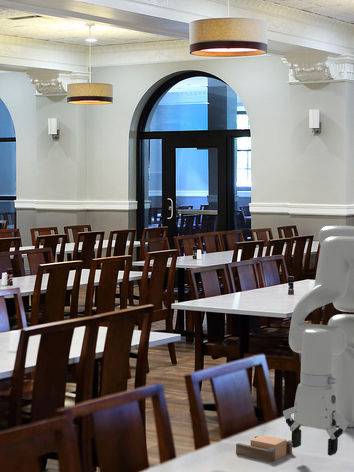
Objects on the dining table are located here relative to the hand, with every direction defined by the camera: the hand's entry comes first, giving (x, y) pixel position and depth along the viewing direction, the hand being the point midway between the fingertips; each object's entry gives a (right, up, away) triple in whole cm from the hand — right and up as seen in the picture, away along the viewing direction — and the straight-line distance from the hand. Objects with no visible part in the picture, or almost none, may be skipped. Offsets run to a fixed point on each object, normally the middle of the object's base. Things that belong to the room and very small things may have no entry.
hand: (314, 450), depth 208 cm
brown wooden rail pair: (-11, -3, +9) cm, 15 cm away
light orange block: (-10, -3, +9) cm, 14 cm away
